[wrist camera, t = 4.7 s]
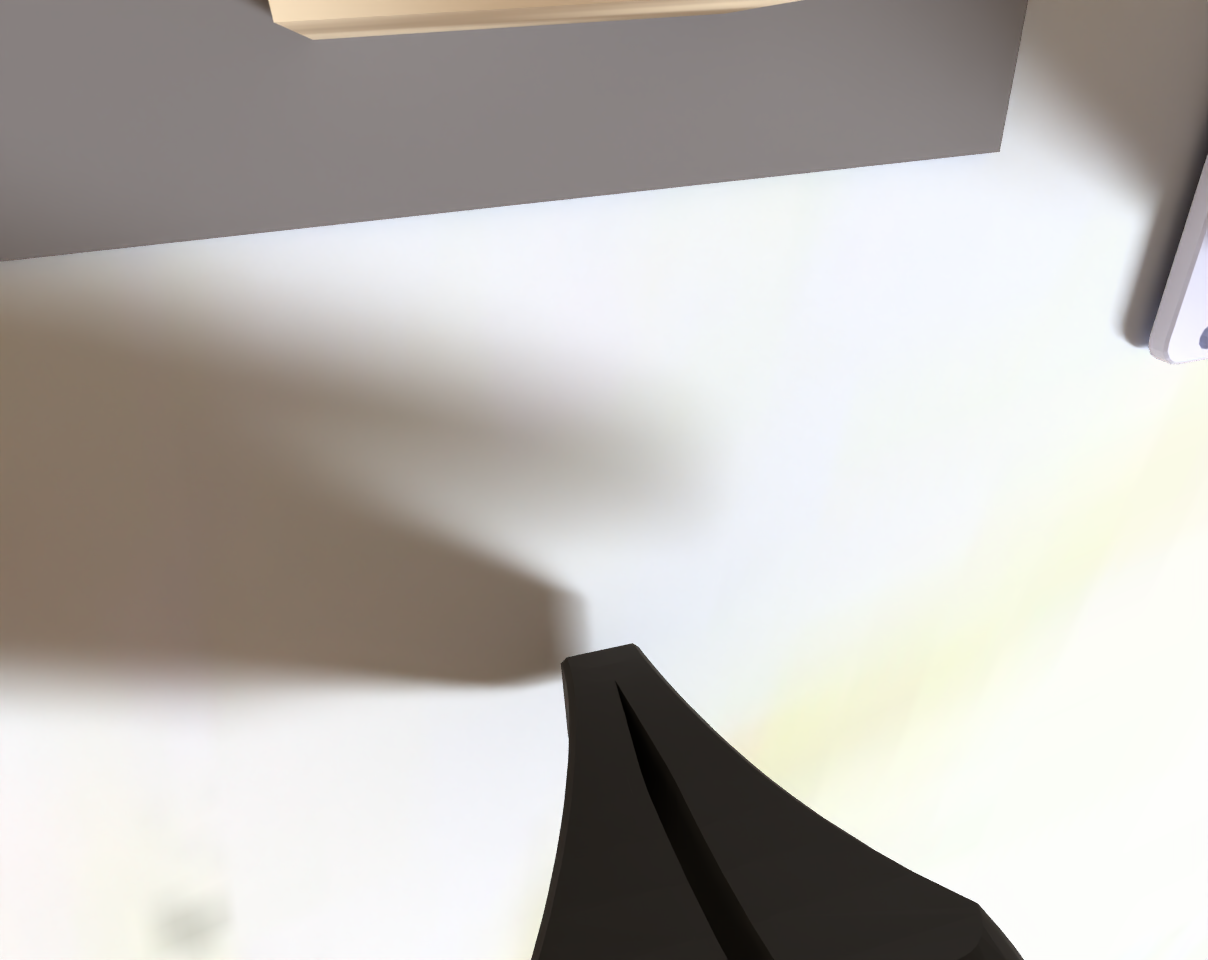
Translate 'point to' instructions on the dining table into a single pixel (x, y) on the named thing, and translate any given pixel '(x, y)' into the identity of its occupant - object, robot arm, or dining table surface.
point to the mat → (460, 111)
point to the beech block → (477, 14)
